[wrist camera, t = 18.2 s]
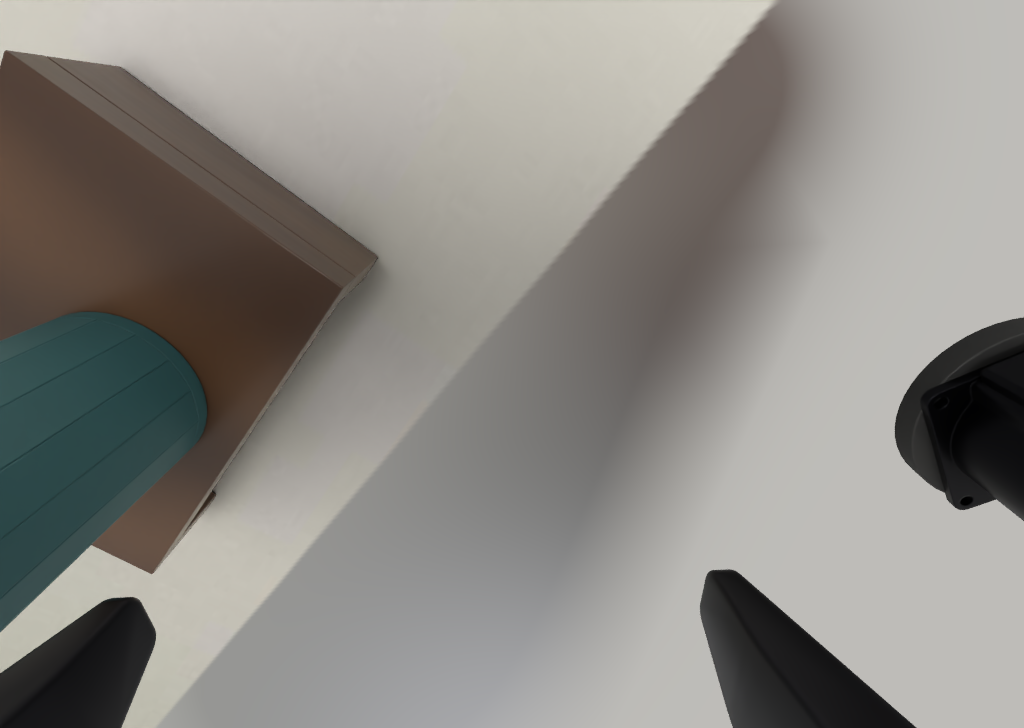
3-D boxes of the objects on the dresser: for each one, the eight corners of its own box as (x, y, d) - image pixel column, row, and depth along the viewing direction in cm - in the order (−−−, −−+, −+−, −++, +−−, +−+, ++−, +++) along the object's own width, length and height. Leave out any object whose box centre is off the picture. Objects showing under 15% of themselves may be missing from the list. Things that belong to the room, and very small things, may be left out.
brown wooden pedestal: (119, 65, 16) (3, 49, 13) (378, 256, 19) (343, 287, 15) (-5, 395, 22) (-109, 448, 18) (207, 508, 24) (151, 574, 21)
